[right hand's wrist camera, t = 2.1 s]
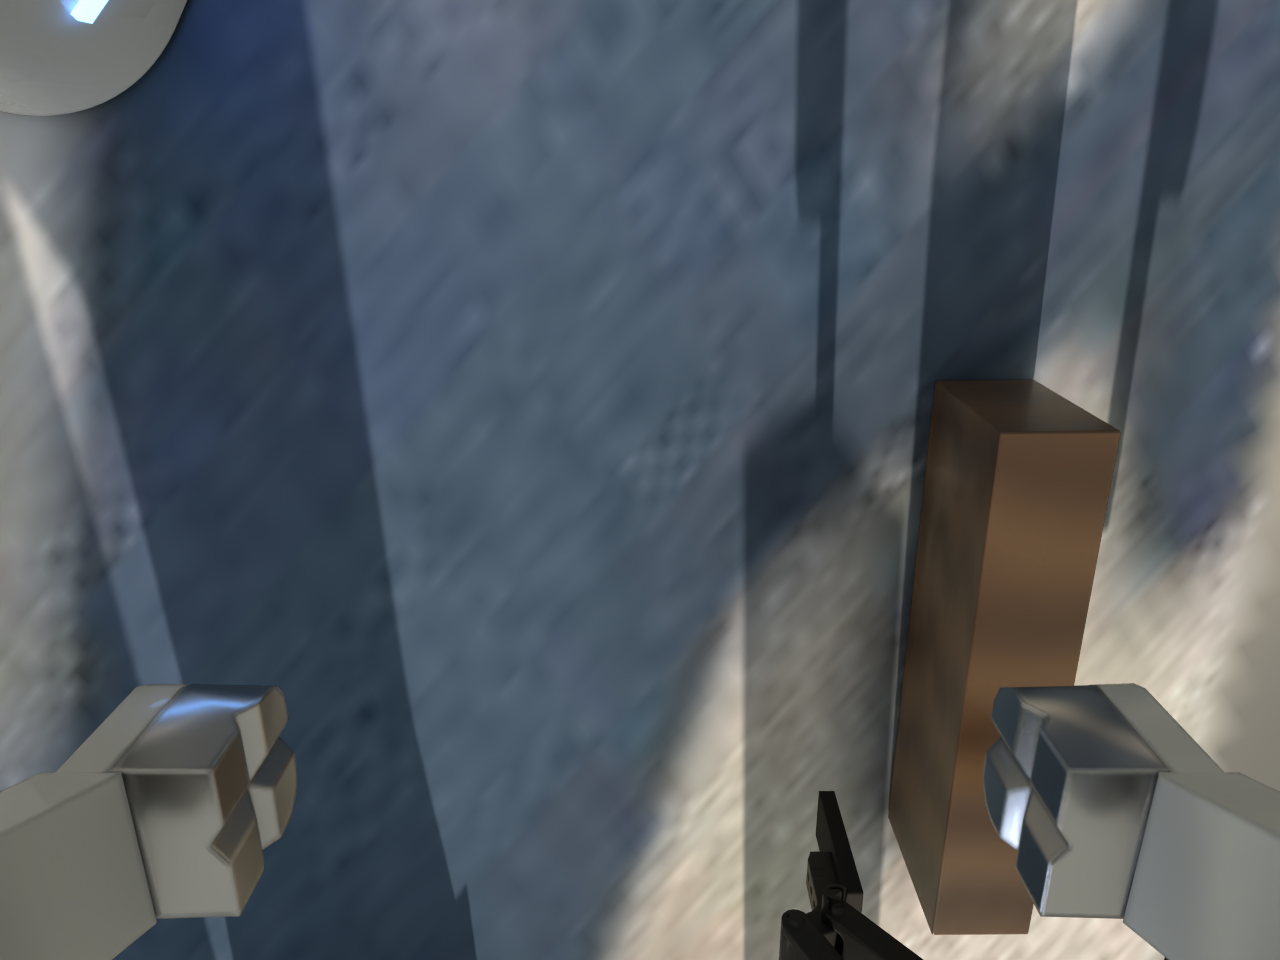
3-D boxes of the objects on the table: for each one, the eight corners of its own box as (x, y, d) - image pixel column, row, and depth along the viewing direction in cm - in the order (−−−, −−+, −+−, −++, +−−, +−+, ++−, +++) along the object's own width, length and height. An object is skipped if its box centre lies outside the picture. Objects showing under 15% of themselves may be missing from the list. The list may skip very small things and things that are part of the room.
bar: (934, 380, 41) (1000, 432, 34) (1034, 379, 41) (1122, 430, 34) (887, 817, 50) (931, 936, 42) (969, 816, 50) (1028, 935, 42)
